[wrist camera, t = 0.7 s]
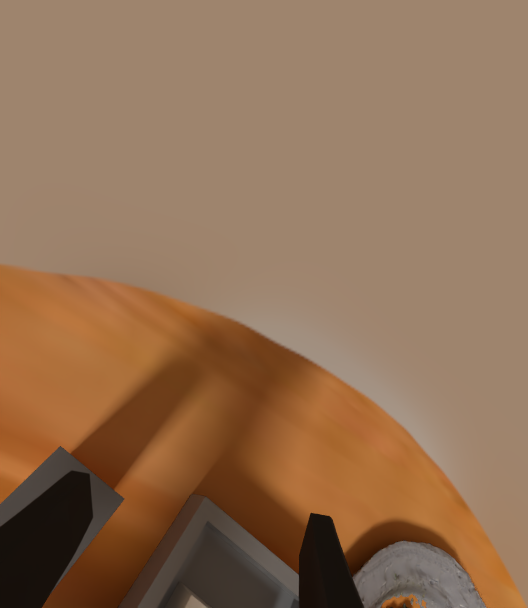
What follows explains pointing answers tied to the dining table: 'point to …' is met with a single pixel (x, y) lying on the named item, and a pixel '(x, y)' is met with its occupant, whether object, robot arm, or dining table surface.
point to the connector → (49, 474)
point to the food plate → (416, 578)
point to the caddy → (212, 566)
